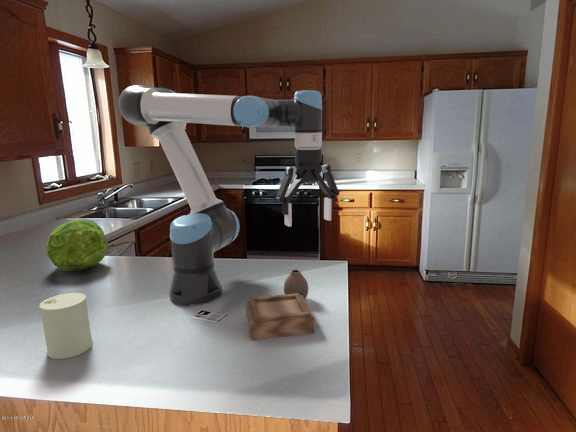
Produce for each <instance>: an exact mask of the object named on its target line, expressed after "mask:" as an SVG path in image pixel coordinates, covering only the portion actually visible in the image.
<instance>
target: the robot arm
mask: <svg viewBox="0 0 576 432" xmlns="http://www.w3.org/2000/svg"><path fill="white" fill-rule="evenodd" d="M293 95H294V97H293V98H290V99H272V98H265V97H259V96H257V95H244V96H243V95H227V94H226V95H223V94H198V93H182V92H181V93H179V92H176V91H173V90H171V89H169V88H165V87H154V86H153V87H152V86H147V85H140V84H137V85H136V84H135V85H130V86H128V87H126V88H125V89H124V90H122V92H121V93H120V95H119V98H118V103H117V104H118V109H119V112H120V114H121V116H122V118H123V119H124V120H125V121H126V122H128V123H129V124H131V125H133V126H136V127H137V126H138V127H147V129H148V131H149V134H150V136H151V137H152V138H154V139H155V140H158V141H159V143H160V145H161V148H162V150H163V152H164V154H165V156H166V159H167V160H168V162H169V164H170V167H171V168H172V171H173V173H174V175H175V178H176V179H177V182H178V183H179V186H180V188H181V190H182V192H183V194H184V197H185V199H186V201H187V203H188V205H189V208H190V212H189V213H188V214H187V215H181V216H178V217H177V218H175V219H174V220H173V221H172V222H171V223H170V227H169V239H170V245H171V246H170V247H171V254H172V265H173V266H172V268H173V275H172V279H171V282H170V287H169V290H168V291H169V299H170V301H171V302H172V303H174V304H177V305H183V306H194V305H195V306H196V305H202V304H207V303H210V302H213V301H215V300H217V299H218V298H220V297H221V295H222V294H223V285H222V282H221V280H220V278H219V275H218V274H217V270H216V268H215V258H214V257H215V256H214V254H215V252H217V251H218V250H220V249H222V248H224V247H227V246H229V245H230V244H231V243H233V241H235V239H236V238H237V237H238V235H239V232H240V221H239V217H238V216H237V215H236V213H235V212H234V211H233V210H230V209H228V208H227V207H226V205H225V202H224V201H223V200H222V199H220V198H219V199H218V198H217V197H216V195H215V192H214V190H213V188H212V186H211V184H210V182H209V180H208V177H207V175H206V173H205V171H204V169H203V166H202V164H201V162H200V160H199V158H198V155H197V154H196V151H195V149H194V147H193V145H192V143H191V140H190V139H189V137H188V134H187V131H186V126H187V124H189V123H190V124H203V125H205V124H206V125H217V126H218V125H219V126H232V127H233V126H235V127H245V128H248V129H251V128H252V129H256V128H264V129H265V128H266V129H269V128H294V148H296V149H295V150H294V162H295V167H291V166H290V167H289V166H286V167H285V169H284V175H283V178H282V181H281V184H280V186H279V188H278V191H277V193H276V196H275V197H274V199H275V201H276V202H279V203H281V213H282V215H284V225H285V226H287V227H288V228H290V227H292V223H293V218H292V217H293V216H292V210H293V209H292V203H291V202H290V201H291V200H292V199H293V197H294V196H295V195H296V193H297V191H298V190H299V188H300V186H301V185H303V183H310V182H312V183H314V182H315V183H316V184H317V186H318V187H319V189H320V190H321V192H323V193H324V195H325V196H326V197H324V198H323V219H324V220H325V221H330V222H331V221H332V210H333V209H334V199H336V198H337V197H338V196H339V195H340V191H339V189H338V187H337V184H336V182H335V179H334V176H333V174H332V169H331V165H330V164H326V163H325V164H323V165H322V161H323V158H322V157H323V151H322V149H320V148H322V145H323V130H322V129H323V103H322V102H323V101H322V94H321V92H320V91H317V90H311V89H309V90H308V89H307V90H298V91H295V93H294V94H293ZM321 173H322V175H323V176H324V178H323V176H322V175H321ZM294 175H295V177H294V178H293V176H294ZM324 179H325V180H324ZM292 180H293V181H292ZM325 181H326V182H325ZM291 182H292V183H291Z"/></svg>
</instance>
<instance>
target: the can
mask: <svg viewBox="0 0 576 432" xmlns="http://www.w3.org/2000/svg"><path fill="white" fill-rule="evenodd" d="M38 306H39V309H40V315H41V321H42V326H43V330H44V331H43V332H44V339H45V344H46V355H47V357H49V358H50V359H54V360H65V359H70V358H74V357H76V356H79V355H82V354H83V353H86V352H87V351H88V350H90V348H92V346H93V345H94V341H93V338H92V334H91V333H92V332H91V325H90V318H89V310H88V305H87V295H86V294H85V293H82V292H68V293H66V292H65V293H61V294H58V295H53V296H51V297H49V298H46V299H45V300H43V301H41V302H40V304H39V305H38Z"/></svg>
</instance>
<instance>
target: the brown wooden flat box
mask: <svg viewBox="0 0 576 432" xmlns="http://www.w3.org/2000/svg"><path fill="white" fill-rule="evenodd" d="M245 308H246V319H247V324H248V331H249V334H250V336H249V337H250V340H251V341H253V340H262V339H263V340H264V339H270V338H271V339H272V338H278V337H279V338H280V337H288V336H297V335H304V334H305V335H307V334H313V333H315V316H314V313H313V312H312V310H311V308H310V306H309V305H308V303H307V301H306V299H304V297H303V295H299V293H296V294H286V295H285V294H279V295H278V294H277V295H268V296H267V295H266V296H258V297H257V296H256V297H250V298H249V300H245Z"/></svg>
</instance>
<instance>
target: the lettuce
mask: <svg viewBox="0 0 576 432" xmlns="http://www.w3.org/2000/svg"><path fill="white" fill-rule="evenodd" d="M107 239H108V238H107V236H106V233H105V232H104V230H103V228H102V227H101V226H100V225H99V224H97V223H96V222H95V221H94V220H90V219H87V218H86V219H85V218H79V219H74V220H70V221H67V222H65V223H63V224H61V225H59V226H57V227H56V228H55V229H54V230H53V231H52V232H51V233H50V234H49V235H48V238H47V241H46V243H45V251H46V256H47V257H48V259H49V260H50V262H52V264H53V265H54V266H55V267H57V268H59V269H61V270H63V271H65V272H78V271H82V270H85V269H86V270H87V269H89V268H93V267H94V266H96V265H97V264H99V263H100V262H102V261H103V259H104V258H105V257H106V256H107V253H108V249H109V247H108V246H109V244H108V240H107Z"/></svg>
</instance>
